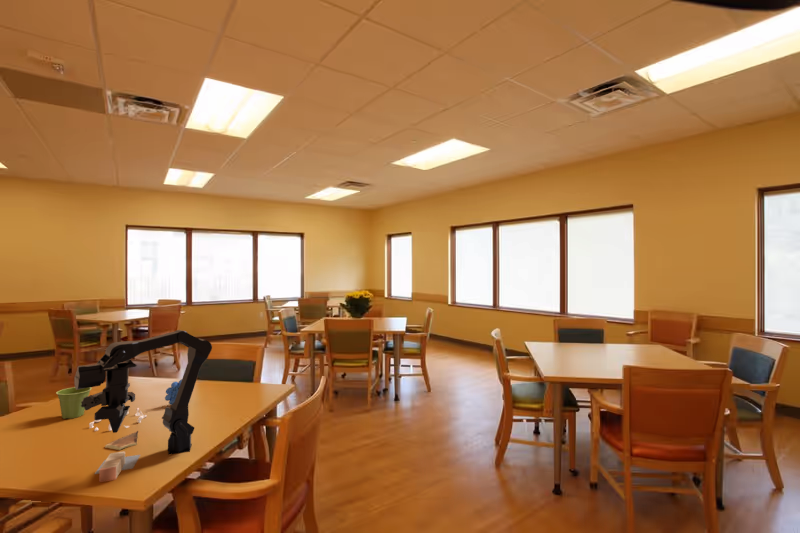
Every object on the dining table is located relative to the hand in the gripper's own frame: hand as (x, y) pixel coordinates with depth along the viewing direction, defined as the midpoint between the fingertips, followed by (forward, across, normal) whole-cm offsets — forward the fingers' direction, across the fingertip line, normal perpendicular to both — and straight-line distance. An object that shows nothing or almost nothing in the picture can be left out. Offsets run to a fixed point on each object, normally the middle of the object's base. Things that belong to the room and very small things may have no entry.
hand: (115, 432), depth 121 cm
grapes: (+12, -64, +9) cm, 66 cm away
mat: (+12, -4, 0) cm, 13 cm away
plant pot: (+12, -62, -31) cm, 70 cm away
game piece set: (+13, -47, -11) cm, 50 cm away
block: (+10, -3, 0) cm, 10 cm away
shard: (+13, -22, -3) cm, 26 cm away
